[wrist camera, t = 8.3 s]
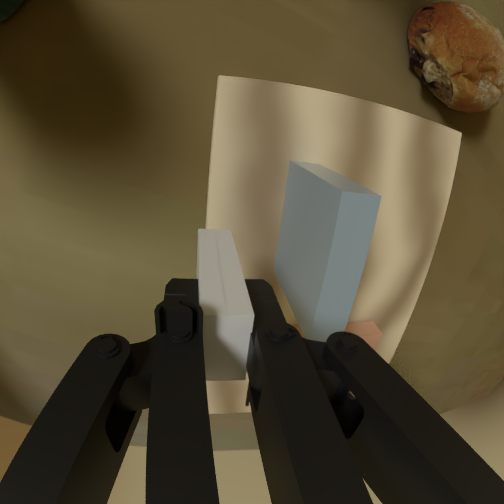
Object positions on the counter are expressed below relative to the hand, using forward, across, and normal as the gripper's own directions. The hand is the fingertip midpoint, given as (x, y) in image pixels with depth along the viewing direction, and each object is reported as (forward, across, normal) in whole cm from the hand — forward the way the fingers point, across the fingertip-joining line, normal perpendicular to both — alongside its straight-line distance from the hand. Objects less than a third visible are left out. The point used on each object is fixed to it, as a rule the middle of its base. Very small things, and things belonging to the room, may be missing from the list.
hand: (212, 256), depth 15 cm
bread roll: (+8, +18, +16) cm, 25 cm away
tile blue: (+6, +6, 0) cm, 9 cm away
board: (+7, +10, -6) cm, 14 cm away
